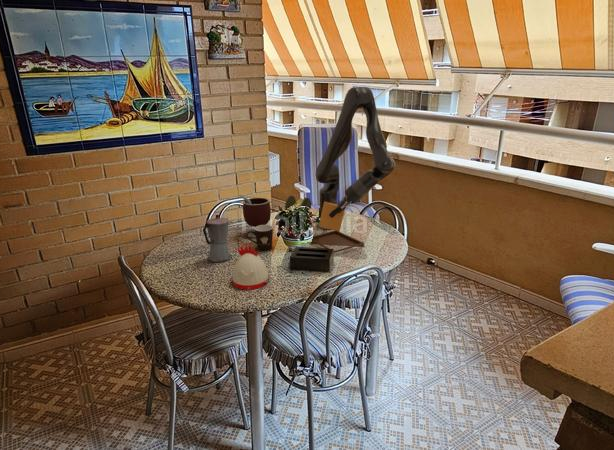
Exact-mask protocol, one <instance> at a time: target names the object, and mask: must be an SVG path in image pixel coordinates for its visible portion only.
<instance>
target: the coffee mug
mask: <svg viewBox="0 0 614 450" xmlns="http://www.w3.org/2000/svg"><path fill="white" fill-rule="evenodd" d="M253 229H254V230H255V232H253V231H249V232H248V233H253V234H254V235H255V236H256V238H255V240H253V239H251V237H249V236H247V235H248V233H247V235H246V234H245V235H246V238H247V239H248V240H249V241H250V242H252V243H254V244H255V245H257V251H259V252H260V251H261V252H268V251H271V250H272V249H273V235H274V234H273V233H274V226H273V225H271V224H266V225H259V226H256V227H254V228H253Z"/></svg>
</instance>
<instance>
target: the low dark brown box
mask: <svg viewBox="0 0 614 450" xmlns="http://www.w3.org/2000/svg"><path fill="white" fill-rule="evenodd" d="M328 248H329V247H328ZM328 248H324V247H311V246H310V247H307V246H295V247H294V249H293V250H292V251H291V252H290V256H289V270H290V271H299V272H304V271H305V272H316V273H331V269H332V267H333V264H334V262H335V261H334V257H335V255H334V254H335V253H334V251H335V250H334V248H330V249H328Z"/></svg>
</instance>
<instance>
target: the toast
mask: <svg viewBox="0 0 614 450" xmlns="http://www.w3.org/2000/svg"><path fill="white" fill-rule="evenodd" d="M336 207H337V205H336V204H332V203H328V202H324V204H323V209H322V213H321V218H320V222H319V223H318V227H319V228H320V227H324V228H328V229H327V230H332V231H339V232H341V228H342V223H343V219H344V216H345V215H344V214H345V211H346V208H345V209H344V210H343V211H341V212H340V213H337V214H336V215H335V216H334V217H333V218H331V217H330V216H329V214H330V213H331V212H332V211H333V210H334V209H335V208H336ZM338 210H339V209H338Z"/></svg>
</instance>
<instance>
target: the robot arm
mask: <svg viewBox="0 0 614 450" xmlns="http://www.w3.org/2000/svg"><path fill="white" fill-rule="evenodd" d="M342 103H343V104H342V107H341V110H340V114H339V115H338V119H337V121H336V125H335V127H334V129H333V132H332V134H331V136H330V139H329V141H328V145H327V147H326V149H325V152H324V154H323V155H322V157H321V160H320V161H319V162H318V165H317V167H316V170H315V180H316V181H317V182H318V183H320V184H324V185H323V186H322V187H321V188H319V192H318V196H319V197H318V201H319V204H318V205H319V208H318V216H316V217H315V220H313V223H317V224H319V222H320V218H321V213H322V209H323V204H324V202H328V203H332V204H336V205H337V207H336V208H335V209H334V210H333V211H332V212H331V213H330V214H329V216H330V217H331V218H333V217H334V216H335V215H336V214H337V213H340V212H341V211H343V210H344V209H345V210H346V208H348V207H349V206H350V205H351V202H352V203H353V204H357V203H359V202H360V201H361V200H362V199H363V198H364V197H365V196H367V194H369V192H370V191H371V190H372V189H373V188H374V187H375V186H376V185H377V184H378V183H380V181H382V180H383V179H385V178H386V177H388V176H389V175H390V174H391V173H392V172H393V171H394V170H395V168H396V161H395V160H394V159H393V158H392V157H390V155H389V152H388V144H387V141H386V139H385V136H384V134H383V130H382V128H381V124H380V120H379V115H378V111H377V109H378V108H377V105H376V100H375V96H374V93H373V91H372V89H371V88H370V87H368V86H352V87H350V88H349V89H348V90H347V92H346V94H345V97H344V100H343V102H342ZM357 110H363V112H364V115H365V119H366V127H365V137H366V140H367V143H368V146H369V148H370V151H371V154H372V159H373V164H374V167H372V169H369V170H367V171H365V172H364V173H363V174H362V175H360V177H359V178H358V179H356V180H355V181H354V182H353V183H351V185H349V186H348V187H347V189H345V190H344V194H345V196H343V197H342V198H341V200H340V201H338V192H339V189H340V169H339V166H338V164H336V161H337V160H338V159H339V158H340V157H341V156H342V155H343V154H344V153H345V152H346V150H348V148H349V147H350V144H351V143H352V142H351V141H352V139H353V137H354V128H353V119H354V116H355V114H356V112H357ZM338 209H339V210H338ZM271 211H273V212H277V213H279V212H278V211H279V210H277V209H274V208H271ZM319 228H320V229H322V230H329V229H328V228H324V227H320V226H319Z"/></svg>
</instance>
